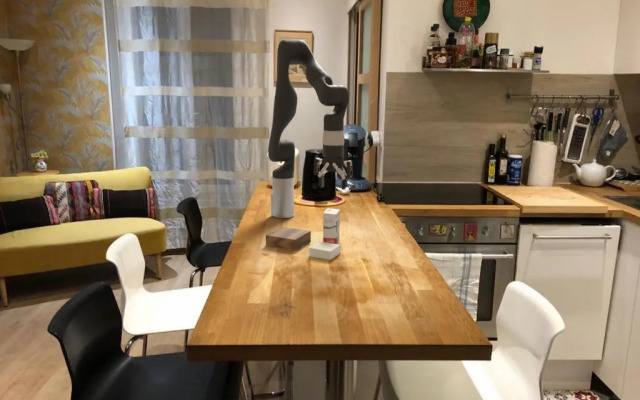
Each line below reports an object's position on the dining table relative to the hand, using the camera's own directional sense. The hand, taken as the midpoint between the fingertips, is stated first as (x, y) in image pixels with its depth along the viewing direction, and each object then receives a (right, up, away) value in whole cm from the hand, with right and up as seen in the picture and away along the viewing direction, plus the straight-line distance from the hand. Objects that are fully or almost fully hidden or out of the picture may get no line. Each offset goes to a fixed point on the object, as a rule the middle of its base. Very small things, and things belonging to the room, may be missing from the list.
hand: (332, 188), depth 186 cm
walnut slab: (-16, -20, +2) cm, 26 cm away
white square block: (-3, -23, -10) cm, 25 cm away
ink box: (0, -20, +4) cm, 20 cm away
